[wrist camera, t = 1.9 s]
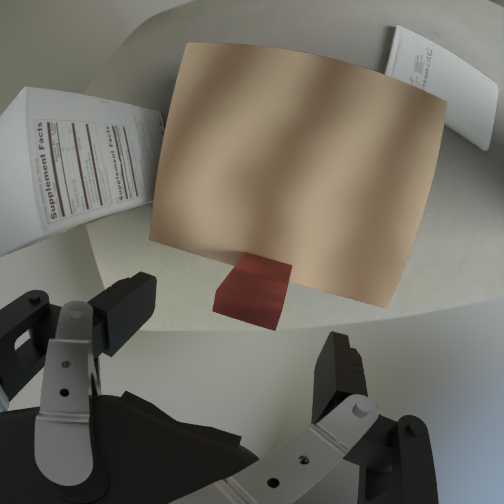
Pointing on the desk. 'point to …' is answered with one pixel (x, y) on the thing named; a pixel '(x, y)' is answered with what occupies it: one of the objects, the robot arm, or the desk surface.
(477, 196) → the desk surface
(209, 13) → the desk surface
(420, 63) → the external hard drive
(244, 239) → the lid
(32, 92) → the supplement box
